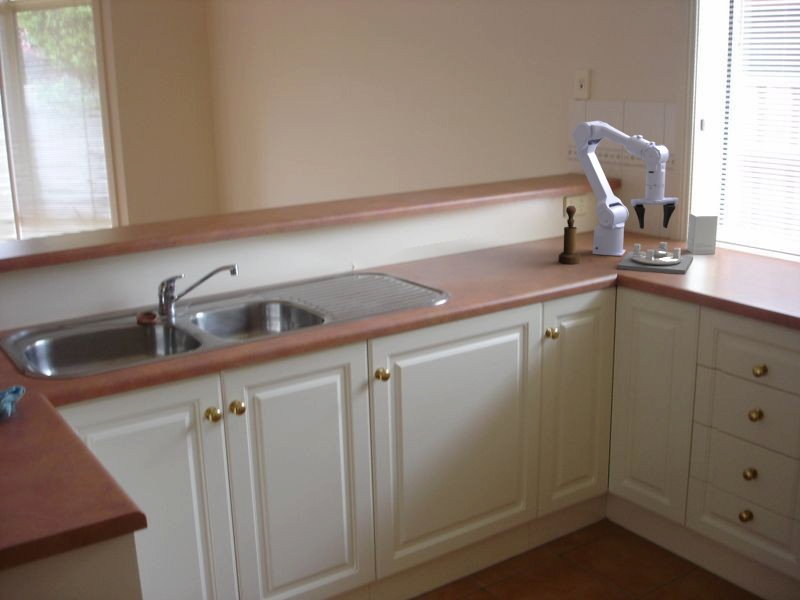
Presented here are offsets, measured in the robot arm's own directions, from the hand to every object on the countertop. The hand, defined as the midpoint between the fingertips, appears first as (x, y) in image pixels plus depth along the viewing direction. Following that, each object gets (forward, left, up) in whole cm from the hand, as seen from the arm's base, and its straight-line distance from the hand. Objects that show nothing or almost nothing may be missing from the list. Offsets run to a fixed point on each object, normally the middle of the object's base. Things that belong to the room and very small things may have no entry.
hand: (653, 227), depth 298 cm
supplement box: (+13, +17, -11) cm, 24 cm away
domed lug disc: (+2, -6, -9) cm, 11 cm away
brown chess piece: (-24, -12, -11) cm, 29 cm away
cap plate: (+2, -6, -10) cm, 12 cm away
